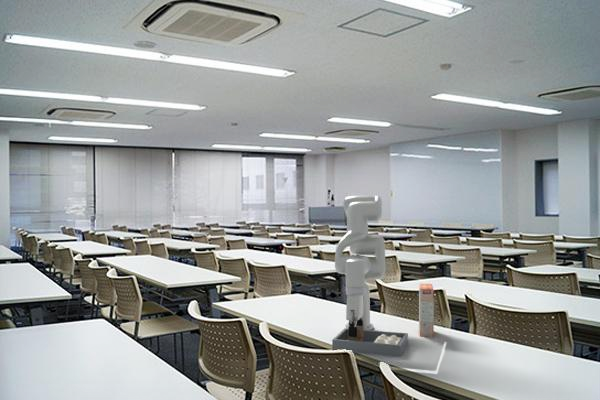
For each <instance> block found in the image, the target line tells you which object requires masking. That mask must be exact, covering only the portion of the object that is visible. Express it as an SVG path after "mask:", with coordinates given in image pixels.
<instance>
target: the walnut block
mask: <svg viewBox="0 0 600 400" xmlns="http://www.w3.org/2000/svg"><path fill="white" fill-rule="evenodd" d="M356 327H357V337H349V328H348V340H350V341H361V342H364V326H356Z"/></svg>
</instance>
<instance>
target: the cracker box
mask: <svg viewBox="0 0 600 400" xmlns="http://www.w3.org/2000/svg"><path fill="white" fill-rule="evenodd" d="M418 284H419V285H418V298H419V299H418V301H419V302H418V306H419V308H418V312H419V313H418V324H419V325H418V330H419V337H420V338H431V339H433V338H434V331H435V329H434V327H435V326H434V325H435V324H434V323H435V321H434V319H435V317H434V307H435V305H434V303H435V302H434V300H435V299H434V298H435V296H434V295H435V293H434V292H435V291H434V289H435V288H434V287H433V284H432V283H418Z"/></svg>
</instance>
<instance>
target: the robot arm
mask: <svg viewBox="0 0 600 400" xmlns="http://www.w3.org/2000/svg"><path fill="white" fill-rule="evenodd" d="M342 205H343V209H344V213H345V217H346V221H347V222H346V233H345V235H344V236H342V238H340V239H339V242H338V244H337V246H336V249H335V253H334V254H335V255H334V256H335V257H334V268H335V271H336V272H337V274H341V275H345V295H346V308H345V310H346V311H345V319H346V320H347V321H348V323H346V324H345V329H348V328H349V337H357V327H356V326H364V330H371V331H372V330H373V329H374V324H373V323H371V307H370V306H371V305H370V304H371V301H370V298H371V297H370V295H371V294H370V293H371V292H370V291H371V290H370V287H369V286H368V284H367V283H366V280H383V279H384V278H385V276H386V245H385V244H386V243H385V239H384V237H383V236H382V235H380V234H369V223H368V222H371V221H372V222H374V221H380V219H381V218H382V214H383V211H382V210H383V201H382V199H381V196H379V195H350V196H346V197H345V198H344V199H343V201H342ZM348 247H349V251H350V253H351V254H352V255H343V252H344V250H345V249H346V248H348ZM367 256H374V257H375V258H373V257H372V258H370V257H367Z"/></svg>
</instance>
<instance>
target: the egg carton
mask: <svg viewBox="0 0 600 400" xmlns="http://www.w3.org/2000/svg"><path fill="white" fill-rule="evenodd" d="M400 341H401V338H399V337H397V336H395V335H392V336H391V337H387V336H386V335H384V334H382V335H381V336H378V337H377V339H376V340H375V341H374V343H385V344H396V345H398V344H399V343H400Z"/></svg>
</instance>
